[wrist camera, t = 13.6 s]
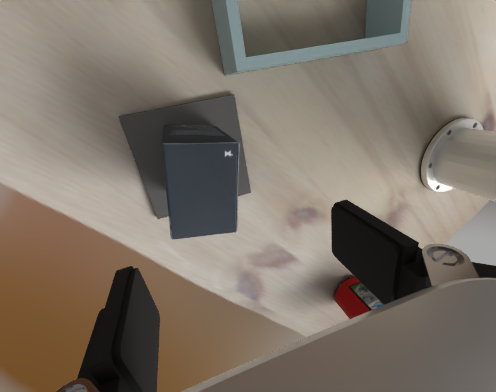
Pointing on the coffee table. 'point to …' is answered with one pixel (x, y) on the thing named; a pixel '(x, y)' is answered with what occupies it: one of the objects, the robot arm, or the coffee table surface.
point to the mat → (151, 133)
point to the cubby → (376, 36)
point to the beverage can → (355, 298)
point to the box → (200, 180)
